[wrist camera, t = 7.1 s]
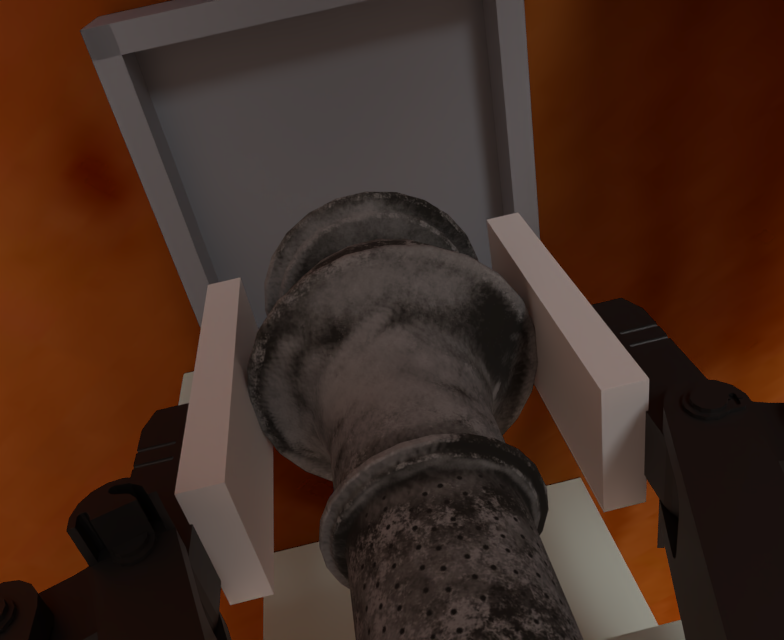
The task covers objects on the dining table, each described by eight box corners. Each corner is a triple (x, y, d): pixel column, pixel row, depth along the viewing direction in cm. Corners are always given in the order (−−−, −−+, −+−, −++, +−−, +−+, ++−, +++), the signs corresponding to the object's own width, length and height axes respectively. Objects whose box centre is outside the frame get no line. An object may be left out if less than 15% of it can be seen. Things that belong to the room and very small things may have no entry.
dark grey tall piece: (215, 352, 17) (136, 1024, 7) (310, 135, 15) (401, 678, 4) (423, 415, 19) (597, 1005, 9) (535, 234, 17) (952, 761, 6)
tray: (16, -194, 17) (-44, -212, 14) (477, -290, 18) (525, -332, 14) (225, 344, 27) (218, 410, 23) (524, 274, 27) (560, 329, 24)
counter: (183, 373, 27) (104, 824, 14) (572, 281, 28) (845, 635, 15) (267, 563, 34) (265, 990, 21) (580, 485, 34) (773, 856, 21)
